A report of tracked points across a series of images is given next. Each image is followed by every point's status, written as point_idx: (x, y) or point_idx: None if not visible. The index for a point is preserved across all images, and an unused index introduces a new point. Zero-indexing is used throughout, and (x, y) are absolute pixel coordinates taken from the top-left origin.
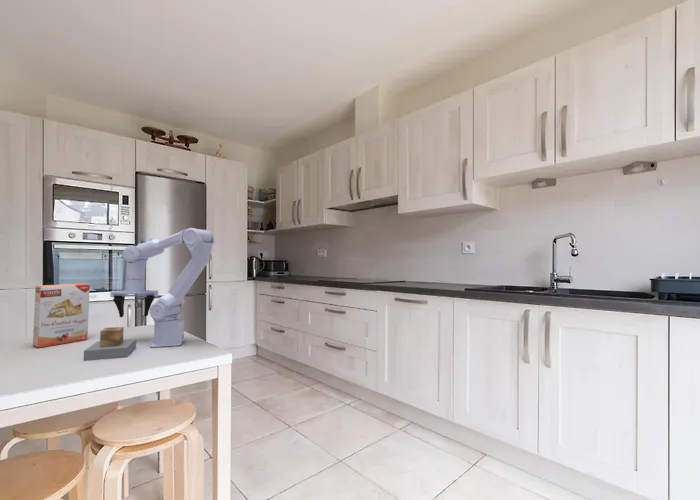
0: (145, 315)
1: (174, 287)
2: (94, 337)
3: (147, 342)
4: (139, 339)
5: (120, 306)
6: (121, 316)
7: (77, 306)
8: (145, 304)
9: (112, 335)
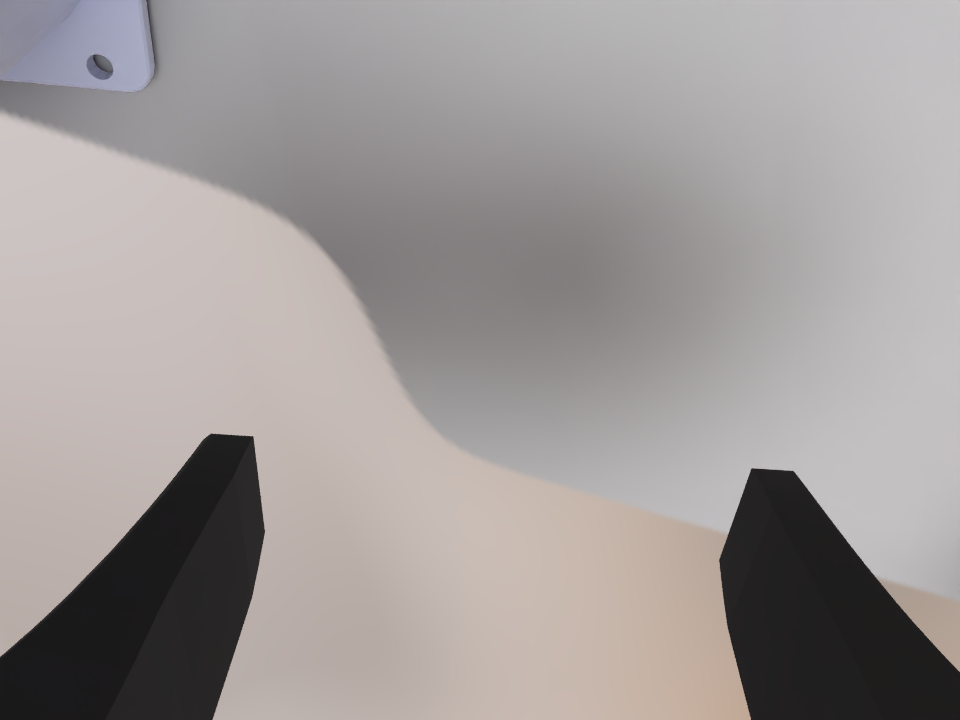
0: (224, 445)
1: None
2: (950, 573)
3: (284, 110)
4: (443, 330)
5: (888, 697)
6: (766, 477)
7: None
8: (109, 692)
9: None
